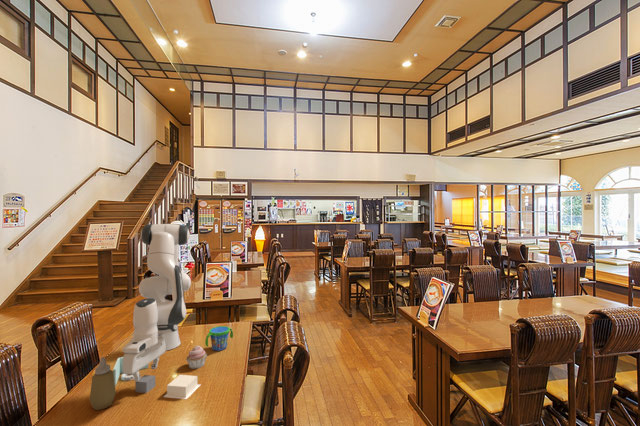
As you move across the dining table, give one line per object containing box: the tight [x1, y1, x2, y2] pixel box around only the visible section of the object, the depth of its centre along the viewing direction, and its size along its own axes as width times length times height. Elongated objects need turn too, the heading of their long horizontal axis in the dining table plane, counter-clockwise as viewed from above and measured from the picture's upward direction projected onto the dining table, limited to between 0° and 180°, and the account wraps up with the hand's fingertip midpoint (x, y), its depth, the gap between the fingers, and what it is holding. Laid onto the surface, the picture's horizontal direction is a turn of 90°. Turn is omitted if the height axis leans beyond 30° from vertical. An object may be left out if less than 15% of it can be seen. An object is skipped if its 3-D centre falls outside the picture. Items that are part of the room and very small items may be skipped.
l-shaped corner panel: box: [112, 356, 149, 387], centre depth 134 cm, size 12×12×8 cm
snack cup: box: [204, 325, 234, 352], centre depth 161 cm, size 16×10×10 cm
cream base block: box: [166, 374, 198, 397], centre depth 121 cm, size 8×8×4 cm
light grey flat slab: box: [163, 383, 201, 400], centre depth 121 cm, size 18×14×1 cm
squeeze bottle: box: [89, 356, 117, 411], centre depth 113 cm, size 8×8×18 cm
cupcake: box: [186, 345, 208, 370], centre depth 142 cm, size 9×9×10 cm
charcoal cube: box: [134, 374, 156, 394], centre depth 123 cm, size 5×5×5 cm
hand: (146, 374), depth 122 cm, fingers open, 8 cm apart
